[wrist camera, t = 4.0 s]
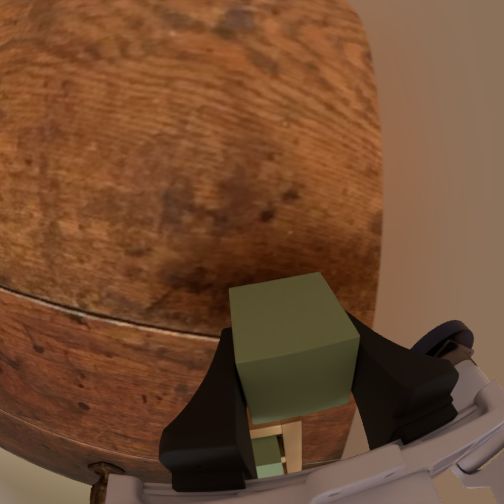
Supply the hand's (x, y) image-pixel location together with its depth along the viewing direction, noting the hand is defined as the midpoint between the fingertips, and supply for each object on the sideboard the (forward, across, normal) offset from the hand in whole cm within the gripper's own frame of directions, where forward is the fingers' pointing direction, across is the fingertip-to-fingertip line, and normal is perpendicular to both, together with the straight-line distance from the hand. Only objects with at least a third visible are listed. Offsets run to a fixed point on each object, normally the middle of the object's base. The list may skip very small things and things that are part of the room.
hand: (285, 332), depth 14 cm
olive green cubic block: (+1, 0, 0) cm, 1 cm away
